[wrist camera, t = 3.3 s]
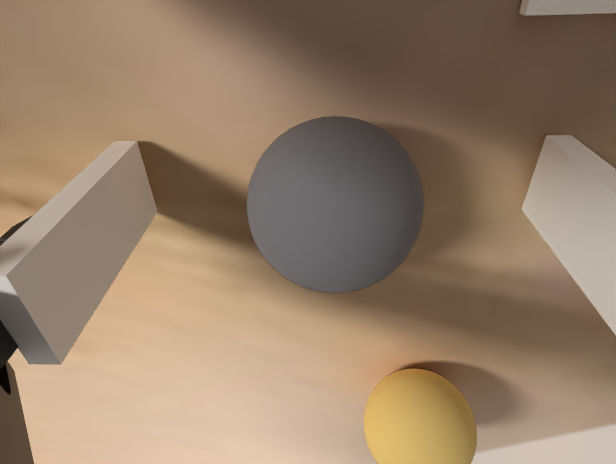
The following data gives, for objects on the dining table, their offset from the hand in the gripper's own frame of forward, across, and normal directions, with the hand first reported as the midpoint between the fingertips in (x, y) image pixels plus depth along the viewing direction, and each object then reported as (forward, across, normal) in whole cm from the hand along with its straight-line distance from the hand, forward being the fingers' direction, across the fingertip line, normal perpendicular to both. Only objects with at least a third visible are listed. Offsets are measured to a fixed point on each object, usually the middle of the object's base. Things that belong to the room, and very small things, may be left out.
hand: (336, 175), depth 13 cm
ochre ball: (-2, +4, -12) cm, 13 cm away
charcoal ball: (-2, 0, 0) cm, 2 cm away
